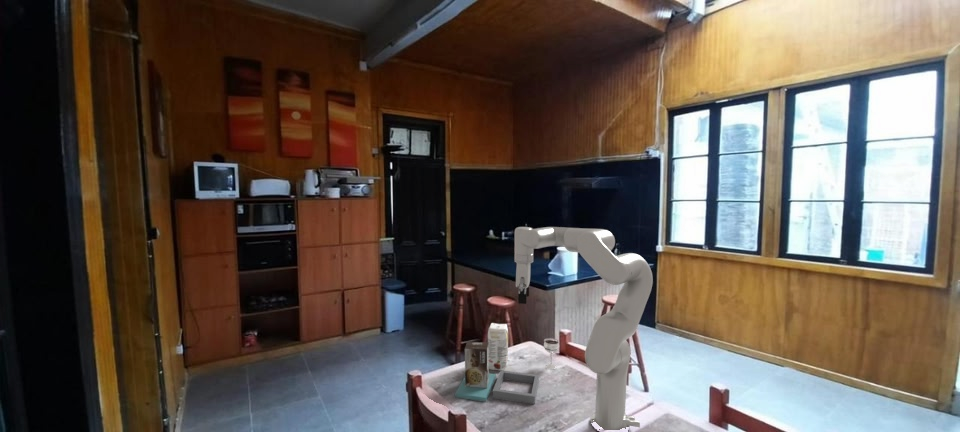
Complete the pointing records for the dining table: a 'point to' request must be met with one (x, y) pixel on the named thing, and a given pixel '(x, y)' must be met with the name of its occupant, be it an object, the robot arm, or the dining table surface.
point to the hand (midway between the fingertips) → (523, 299)
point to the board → (475, 390)
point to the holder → (512, 394)
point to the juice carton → (498, 346)
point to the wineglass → (551, 349)
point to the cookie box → (477, 364)
